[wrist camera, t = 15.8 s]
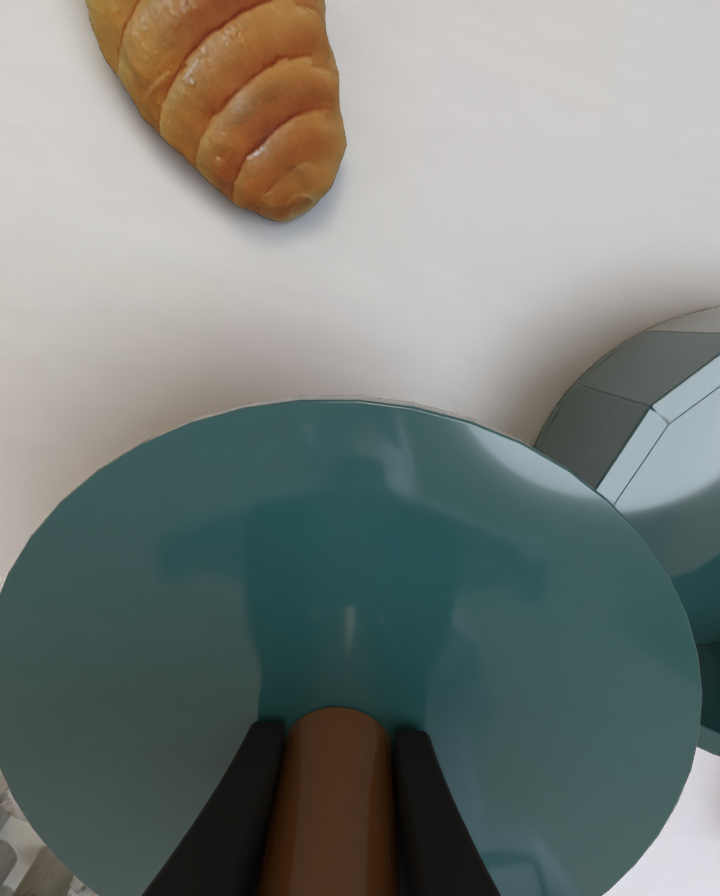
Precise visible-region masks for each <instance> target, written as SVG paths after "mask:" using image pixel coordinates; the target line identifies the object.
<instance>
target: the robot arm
mask: <svg viewBox="0 0 720 896" xmlns="http://www.w3.org/2000/svg"><path fill="white" fill-rule="evenodd" d="M283 749H284V723H279V722H262V721H256V722H254V723H253V724H252V725H251V726H250V728H249V730H248V732H247V734H246V736H245V738H244V740H243V742H242V744H241V746H240V748H239V750H238V751H237V753H236V755H235V757H234V759H233V760H232V762H231V764H230V766H229V767H228V769H227V771H226V772H225V774H224V776H223V777H222V779H221V781H220V782H219V784H218V786H217V787H216V789H215V790H214V792H213V793H212V795H211V797H210V798H209V800H208V801H207V803H206V804H205V806H204V808H203V809H202V811H201V812H200V814H199V815H198V817H197V819H196V820H195V822H194V823H193V825H192V826H191V827H190V829H189V830H188V832H187V833H186V835H185V836H184V837H183V839H182V840H181V842H180V843H179V845H178V846H177V847H176V849H175V850H174V852H173V853H172V854H171V856H170V857H169V859H168V860H167V862H166V863H165V864H164V866H163V867H162V869H161V870H160V871H159V873H158V874H157V875H156V877H155V878H154V879H153V881H152V882H151V883H150V885H149V886H148V887H147V889H146V890H145V891H144V893H143V894H142V895H141V896H254V893H255V888H256V883H257V878H258V872H259V867H260V862H261V857H262V852H263V847H264V842H265V837H266V832H267V827H268V822H269V817H270V813H271V808H272V803H273V799H274V795H275V790H276V785H277V780H278V775H279V770H280V765H281V759H282V754H283ZM394 779H395V798H396V817H397V836H398V855H399V874H400V893H401V896H501V895H500V893H499V891H498V889H497V887H496V885H495V883H494V881H493V879H492V878H491V876H490V874H489V872H488V870H487V868H486V866H485V864H484V862H483V860H482V858H481V856H480V854H479V852H478V850H477V848H476V846H475V844H474V842H473V840H472V838H471V836H470V834H469V832H468V829H467V827H466V825H465V823H464V821H463V819H462V817H461V815H460V813H459V810H458V808H457V806H456V804H455V801H454V799H453V797H452V794H451V792H450V790H449V787H448V785H447V782H446V780H445V778H444V775H443V773H442V770H441V767H440V765H439V762H438V759H437V757H436V754H435V751H434V748H433V745H432V742H431V739H430V736H429V735H428V734H427V733H426V732H425V731H412V730H397V732H396V742H395V753H394Z"/></svg>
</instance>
